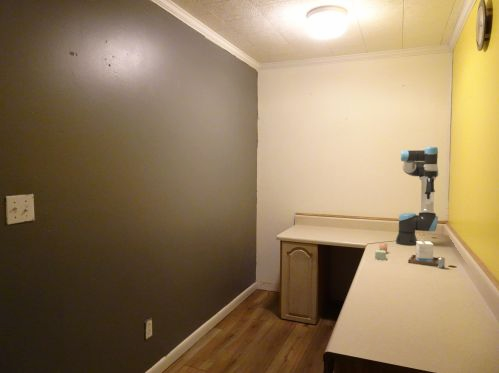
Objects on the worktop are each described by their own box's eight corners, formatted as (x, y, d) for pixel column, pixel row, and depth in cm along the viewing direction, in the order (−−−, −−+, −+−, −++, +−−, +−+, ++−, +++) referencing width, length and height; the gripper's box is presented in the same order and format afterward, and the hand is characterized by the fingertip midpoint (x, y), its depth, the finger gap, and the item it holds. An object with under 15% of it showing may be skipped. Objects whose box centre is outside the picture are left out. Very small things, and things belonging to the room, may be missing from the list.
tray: (412, 257, 233) (412, 254, 233) (440, 261, 225) (440, 258, 225) (408, 262, 221) (408, 259, 221) (437, 266, 212) (437, 263, 212)
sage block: (374, 257, 235) (375, 249, 235) (384, 257, 233) (384, 250, 233) (375, 259, 229) (375, 252, 229) (385, 260, 227) (385, 252, 227)
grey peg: (437, 266, 213) (438, 256, 212) (444, 267, 211) (445, 257, 210) (437, 268, 210) (437, 258, 209) (444, 269, 208) (444, 258, 207)
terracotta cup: (380, 251, 250) (380, 243, 250) (387, 252, 247) (388, 243, 247) (378, 253, 246) (378, 244, 245) (386, 254, 243) (386, 245, 243)
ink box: (433, 263, 218) (433, 241, 217) (418, 262, 220) (419, 240, 219) (429, 259, 226) (430, 238, 225) (415, 258, 228) (416, 237, 227)
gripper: (427, 169, 247) (426, 200, 248) (421, 171, 226) (420, 204, 228) (439, 169, 243) (438, 201, 244) (434, 171, 222) (433, 205, 224)
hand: (429, 202), depth 236 cm, fingers open, 13 cm apart
